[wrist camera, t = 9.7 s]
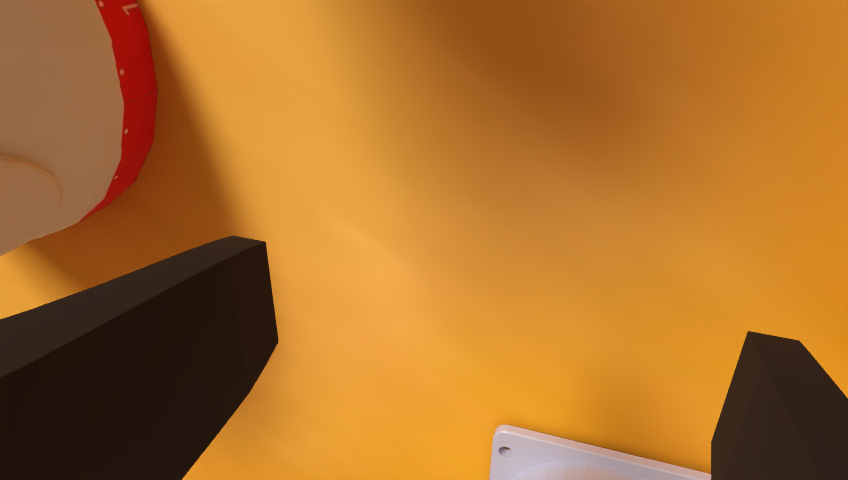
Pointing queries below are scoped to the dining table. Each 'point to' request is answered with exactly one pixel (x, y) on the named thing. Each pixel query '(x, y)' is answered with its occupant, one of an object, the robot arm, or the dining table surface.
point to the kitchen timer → (70, 111)
